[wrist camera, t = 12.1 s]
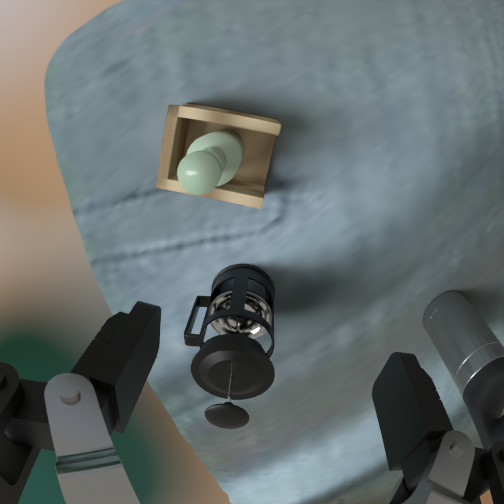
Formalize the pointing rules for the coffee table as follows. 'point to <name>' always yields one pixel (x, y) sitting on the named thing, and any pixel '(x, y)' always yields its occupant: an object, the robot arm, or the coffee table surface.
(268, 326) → the french press
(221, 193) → the u rest
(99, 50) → the coffee table surface
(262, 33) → the coffee table surface
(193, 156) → the pale green pin
